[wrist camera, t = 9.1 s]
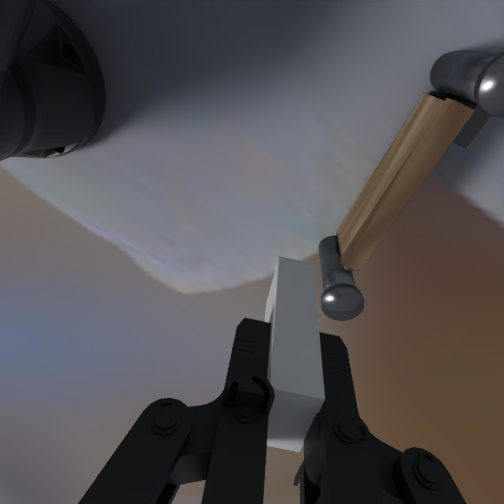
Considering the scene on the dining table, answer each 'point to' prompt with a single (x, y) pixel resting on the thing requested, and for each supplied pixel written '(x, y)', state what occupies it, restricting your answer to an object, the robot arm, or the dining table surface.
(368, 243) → the brown wooden board
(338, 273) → the hinge post
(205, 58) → the dining table surface
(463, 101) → the post
